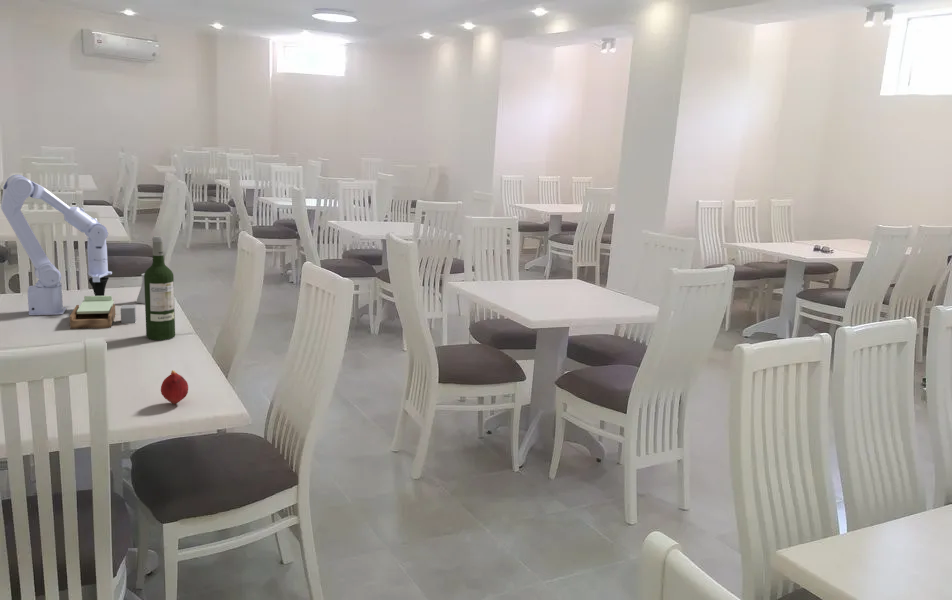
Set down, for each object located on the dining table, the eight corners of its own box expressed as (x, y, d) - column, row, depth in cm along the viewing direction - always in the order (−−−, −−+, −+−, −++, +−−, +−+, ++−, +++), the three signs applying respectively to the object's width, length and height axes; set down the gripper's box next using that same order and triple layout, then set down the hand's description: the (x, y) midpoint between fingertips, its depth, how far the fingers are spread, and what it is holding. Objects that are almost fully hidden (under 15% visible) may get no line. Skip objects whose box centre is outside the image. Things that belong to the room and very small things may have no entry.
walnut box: (70, 328, 221) (69, 316, 220) (77, 316, 235) (76, 304, 234) (110, 327, 225) (110, 315, 224) (115, 315, 238) (115, 304, 238)
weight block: (121, 324, 230) (120, 308, 229) (122, 320, 234) (121, 305, 233) (135, 323, 231) (134, 308, 230) (136, 320, 235) (135, 304, 234)
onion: (193, 400, 171) (192, 367, 170) (181, 409, 166) (180, 375, 164) (168, 398, 172) (167, 365, 170) (156, 407, 166) (155, 373, 164)
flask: (153, 305, 255) (151, 276, 253) (132, 303, 255) (131, 275, 253) (162, 300, 262) (161, 272, 260) (141, 299, 262) (140, 271, 260)
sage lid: (76, 314, 227) (76, 306, 226) (83, 302, 241) (82, 296, 240) (109, 313, 230) (108, 306, 230) (113, 302, 244) (113, 295, 243)
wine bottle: (157, 342, 213) (153, 239, 207) (140, 336, 217) (136, 236, 211) (180, 336, 220) (178, 237, 213) (164, 331, 224) (161, 233, 217)
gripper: (109, 262, 237) (111, 303, 240) (113, 255, 251) (115, 294, 254) (84, 262, 235) (86, 304, 238) (90, 255, 248) (92, 294, 251)
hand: (99, 299), depth 245 cm, fingers closed
